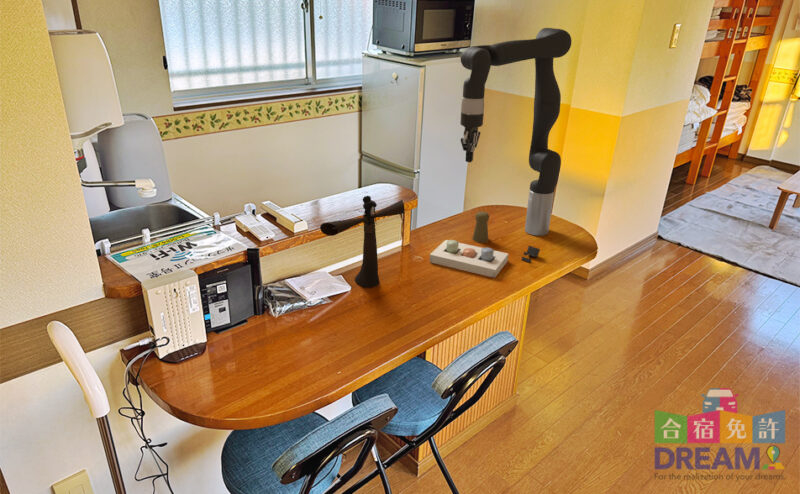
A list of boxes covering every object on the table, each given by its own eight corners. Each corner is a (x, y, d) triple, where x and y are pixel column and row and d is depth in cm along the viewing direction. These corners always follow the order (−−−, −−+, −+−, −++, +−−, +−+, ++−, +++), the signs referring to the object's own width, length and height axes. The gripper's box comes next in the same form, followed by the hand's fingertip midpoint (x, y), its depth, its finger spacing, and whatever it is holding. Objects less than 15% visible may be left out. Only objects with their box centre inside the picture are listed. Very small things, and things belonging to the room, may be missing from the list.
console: (445, 247, 204) (445, 239, 203) (507, 261, 194) (508, 253, 193) (429, 262, 193) (429, 254, 191) (494, 277, 183) (495, 269, 181)
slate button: (482, 256, 192) (483, 246, 191) (494, 259, 191) (495, 249, 189) (478, 261, 189) (479, 251, 187) (490, 264, 187) (491, 253, 185)
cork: (469, 237, 212) (471, 211, 207) (482, 234, 214) (484, 208, 209) (477, 243, 207) (480, 216, 202) (491, 240, 209) (493, 214, 205)
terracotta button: (465, 257, 196) (466, 247, 194) (476, 259, 194) (477, 249, 192) (460, 262, 192) (461, 251, 191) (472, 264, 191) (472, 254, 189)
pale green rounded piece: (448, 249, 198) (449, 239, 196) (459, 251, 196) (460, 241, 194) (444, 253, 194) (444, 243, 193) (455, 256, 193) (455, 245, 191)
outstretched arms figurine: (334, 303, 167) (330, 211, 154) (317, 290, 174) (312, 202, 161) (411, 272, 186) (413, 188, 173) (393, 262, 192) (394, 180, 179)
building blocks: (540, 249, 197) (531, 246, 190) (535, 263, 197) (526, 261, 191) (532, 246, 199) (523, 243, 192) (527, 261, 199) (518, 258, 193)
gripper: (469, 106, 189) (466, 155, 196) (454, 113, 178) (451, 164, 186) (489, 108, 186) (485, 158, 193) (476, 116, 175) (472, 168, 183)
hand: (469, 161), depth 190 cm, fingers closed
